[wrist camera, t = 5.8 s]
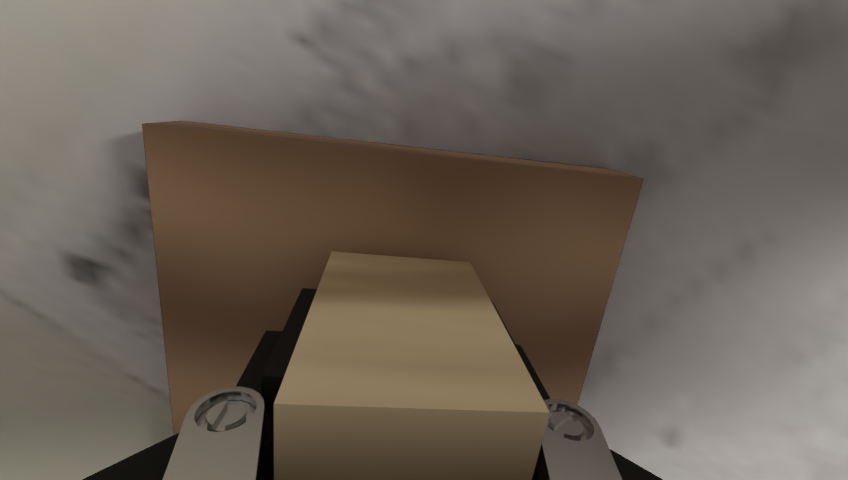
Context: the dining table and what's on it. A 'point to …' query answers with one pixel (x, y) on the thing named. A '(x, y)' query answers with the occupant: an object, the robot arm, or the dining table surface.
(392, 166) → the board
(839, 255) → the dining table surface
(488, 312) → the block
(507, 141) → the dining table surface
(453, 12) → the dining table surface
